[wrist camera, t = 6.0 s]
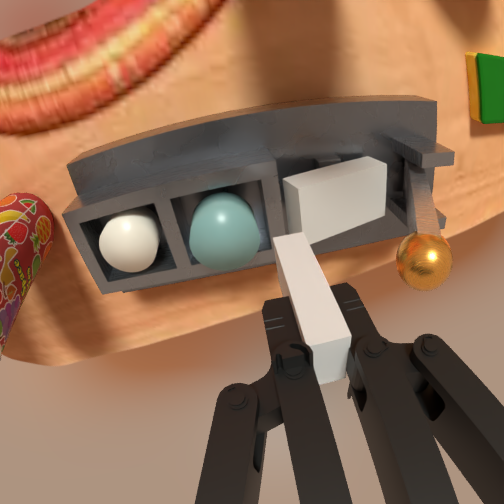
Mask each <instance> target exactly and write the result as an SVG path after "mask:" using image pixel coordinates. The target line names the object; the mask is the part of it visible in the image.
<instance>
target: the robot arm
mask: <svg viewBox="0 0 504 504" xmlns="http://www.w3.org/2000/svg"><path fill="white" fill-rule="evenodd" d="M273 244H274V251H275V258H276V265H277V272H278V279H279V284H280V287H281V291H282V294H283V297H281V298H276V299H271V300H266V301H265V303H264V306H263V309H262V314H263V319H264V324H265V329H266V334H267V339H268V345H269V350H270V355H271V367H270V369H269V371H268V373H267V374H266V375H265V376H264V377H262V378H261V379H259V380H258V381H256V382H254V383H252V384H250V385H247V384H243V383H235V384H231V385H229V386H227V387H225V388H224V389H223V390H222V391H221V392H220V394H219V396H218V398H217V402H216V407H215V412H214V416H213V421H212V426H211V431H210V435H209V440H208V444H207V449H206V454H205V458H204V463H203V467H202V472H201V477H200V481H199V486H198V491H197V496H196V500H195V504H258V500H259V492H260V485H261V477H262V470H263V462H264V454H265V445H266V438H267V431H269V430H271V429H273V428H275V427H276V426H278V425H280V424H282V423H284V425H285V431H286V435H287V441H288V446H289V450H290V455H291V461H292V465H293V470H294V475H295V480H296V485H297V490H298V495H299V500H300V504H352V500H351V497H350V493H349V489H348V485H347V481H346V478H345V474H344V470H343V467H342V463H341V460H340V456H339V452H338V449H337V445H336V442H335V438H334V434H333V431H332V427H331V424H330V421H329V417H328V414H327V410H326V407H325V404H324V400H323V397H322V393H321V390H320V386H319V385H321V384H324V383H328V382H332V381H336V380H340V379H343V378H345V377H346V371H347V374H348V377H349V380H350V384H349V388H348V393H347V396H348V399H350V398H351V396H352V399H353V401H354V404H355V407H356V410H357V413H358V416H359V419H360V422H361V425H362V428H363V431H364V434H365V437H366V440H367V443H368V446H369V450H370V453H371V456H372V459H373V462H374V465H375V469H376V472H377V475H378V478H379V482H380V485H381V488H382V492H383V495H384V499H385V502H386V504H459V503H458V500H457V497H456V494H455V491H454V488H453V486H452V483H451V480H450V477H449V475H448V472H447V469H446V467H445V464H444V461H443V459H442V456H441V454H440V451H439V448H438V446H437V444H436V441H435V439H434V437H435V438H436V439H437V441H438V442H439V443H440V444H441V446H442V447H443V449H444V450H445V451H446V453H447V454H448V455H449V456H450V458H451V459H452V461H453V462H454V463H455V465H456V466H457V467H458V469H459V470H460V471H461V473H462V474H463V476H464V477H465V478H466V480H467V481H468V482H469V484H470V485H471V486H472V488H473V489H474V491H475V492H476V493H477V495H478V496H479V498H480V499H481V500H482V502H483V503H484V504H504V407H503V405H502V404H501V403H500V402H499V401H498V400H497V398H496V397H495V396H494V395H493V394H492V393H491V391H490V390H489V389H488V388H487V387H486V386H485V385H484V384H483V382H482V381H481V380H480V379H479V378H478V377H477V376H476V375H475V374H474V373H473V371H472V370H471V369H470V368H469V367H468V366H467V365H466V364H465V363H464V362H463V361H462V360H461V359H460V358H459V357H458V355H457V354H456V353H455V352H454V351H453V350H452V349H451V348H450V347H449V346H448V345H447V344H446V343H445V342H444V341H443V340H442V339H441V338H439V337H438V336H436V335H433V334H423V335H421V336H419V337H418V338H417V339H416V340H415V342H414V343H402V344H400V343H392V342H389V341H388V340H387V339H385V338H384V337H382V336H380V334H379V333H378V331H377V330H376V327H375V326H374V324H373V322H372V320H371V318H370V316H369V314H368V312H367V310H366V308H365V307H364V304H363V303H362V301H361V300H360V297H359V295H358V293H357V291H356V290H355V289H354V288H353V287H352V286H350V285H349V284H348V283H342V284H337V285H333V286H329V284H328V282H327V280H326V278H325V276H324V274H323V272H322V270H321V268H320V265H319V263H318V261H317V259H316V257H315V255H314V253H313V251H312V249H311V247H310V245H309V243H308V241H307V239H306V237H305V235H304V233H303V232H300V233H294V234H289V235H284V236H279V237H274V238H273ZM433 435H434V436H433Z"/></svg>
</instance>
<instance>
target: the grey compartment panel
mask: <svg viewBox="0 0 504 504" xmlns="http://www.w3.org/2000/svg"><path fill="white" fill-rule="evenodd" d="M436 134H437V101H434V100H430V99H427V98H423V97H419V96H410V95H377V96H350V97H334V98H321V99H311V100H301V101H293V102H285V103H277V104H270V105H263V106H257V107H251V108H245V109H240V110H234V111H229V112H224V113H219V114H214V115H209V116H205V117H200V118H196V119H192V120H188V121H183V122H179V123H175V124H172V125H168V126H164V127H160V128H157V129H153V130H150V131H146V132H143V133H140V134H136V135H133V136H130V137H127V138H124V139H121V140H118V141H115V142H112V143H109V144H106V145H103V146H100V147H97V148H95V149H92V150H89V151H86V152H84V153H81V154H80V155H79V156H77V157H76V158H75V159H74V160H72V161H71V162H70V163H68V164H67V168H68V171H69V174H70V176H71V179H72V182H73V184H74V187H75V190H76V192H77V195H78V196H77V197H76V198H75V199H74V200H73V202H72V203H71V204H70V205H69V206H68V207H67V208H66V210H65V211H64V212H63V213H62V216H63V218H64V220H65V223H66V225H67V227H68V229H69V231H70V233H71V236H72V238H73V240H74V242H75V244H76V246H77V248H78V250H79V252H80V254H81V256H82V258H83V260H84V262H85V264H86V266H87V267H88V269H89V271H90V273H91V275H92V277H93V279H94V280H95V282H96V284H97V286H98V288H99V289H100V291H101V293H102V294H108V293H113V292H119V291H122V292H123V293H125V292H131V291H136V290H141V289H147V288H152V287H157V286H163V285H168V284H173V283H178V282H184V281H189V280H194V279H199V278H204V277H209V276H214V275H219V274H225V273H230V272H235V271H240V270H245V269H250V268H255V267H259V266H264V265H269V264H274V263H276V258H275V251H274V244H273V238H274V237H279V236H284V235H289V230H288V221H287V213H286V204H285V196H284V188H283V180H282V179H283V178H286V177H290V176H293V175H297V174H300V173H304V172H308V171H311V170H315V169H319V168H323V167H326V166H330V165H334V164H338V163H342V162H346V161H350V160H354V159H358V158H362V157H366V156H369V157H371V158H374V159H376V160H379V161H381V162H383V163H386V164H387V180H386V203H385V216H382V217H380V218H377V219H375V220H372V221H370V222H367V223H365V224H362V225H359V226H357V227H354V228H352V229H349V230H347V231H344V232H341V233H339V234H336V235H334V236H331V237H329V238H326V239H323V240H321V241H318V242H316V243H313V244H310V247H311V249H312V251H313V253H314V255H318V254H322V253H327V252H332V251H337V250H341V249H346V248H351V247H355V246H360V245H364V244H369V243H374V242H378V241H383V240H387V239H392V238H396V237H401V236H405V235H408V226H407V211H406V200H405V199H403V184H404V164H405V158H406V159H408V160H409V161H411V162H413V163H414V164H416V165H417V166H419V167H421V168H424V169H425V173H426V176H427V179H428V183H429V187H430V190H431V194H432V190H433V180H434V169H435V167H440V166H450V165H454V153H455V152H454V151H452V150H450V149H448V148H446V147H444V146H442V145H440V144H438V143H436ZM220 192H227V193H233V194H236V195H238V196H240V197H242V198H243V199H245V200H246V201H247V202H248V203H249V204H250V206H251V208H252V210H253V212H254V216H255V220H256V223H257V227H258V231H259V235H260V245H259V248H258V251H257V253H256V254H255V256H254V257H253V258H252V259H251V260H250V261H249V262H248V263H247V264H245V265H244V266H242V267H239V268H237V269H233V270H226V271H221V270H214V269H211V268H208V267H206V266H204V265H203V264H201V263H200V262H199V261H198V260H197V259H196V258H195V257H194V255H193V254H192V251H191V249H190V243H189V240H190V230H191V221H192V215H193V212H194V209H195V208H196V206H197V205H198V203H199V202H200V201H201V200H203V199H204V198H205V197H207V196H209V195H212V194H215V193H220ZM140 206H145V207H147V208H149V209H150V210H151V211H153V212H154V213H155V214H156V216H157V217H158V219H159V221H160V224H161V229H162V231H161V237H160V241H159V245H158V249H157V253H156V257H155V259H154V261H153V263H152V264H151V265H150V266H149V267H148V268H146V269H144V270H142V271H139V272H125V271H121V270H119V269H116V268H115V267H113V266H112V265H110V264H109V263H108V262H107V261H106V260H105V258H104V257H103V255H102V253H101V251H100V247H99V239H100V235H101V233H102V231H103V229H104V228H105V226H106V224H107V222H108V221H109V219H110V217H111V216H112V214H114V213H117V212H121V211H125V210H128V209H132V208H136V207H140ZM435 210H436V214H437V218H438V223H439V227H440V229H444V228H445V222H446V216H444V215H443V214H442V213H441V212H440V211H439V210H437V209H436V208H435Z"/></svg>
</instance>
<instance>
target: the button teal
mask: <svg viewBox="0 0 504 504" xmlns="http://www.w3.org/2000/svg"><path fill="white" fill-rule="evenodd" d="M189 243H190V249H191V251H192V254H193V255H194V257H195V258H196V259H197V260H198V261H199V262H200V263H201V264H203V265H204V266H206V267H208V268H211V269H214V270H221V271H226V270H233V269H237V268H239V267H242V266H244V265H245V264H247V263H248V262H249V261H250V260H251V259H252V258H253V257H254V256H255V254H256V253H257V251H258V248H259V245H260V235H259V231H258V227H257V223H256V220H255V216H254V212H253V210H252V208H251V206H250V204H249V203H248V202H247V201H246V200H245V199H243V198H242V197H240V196H238V195H236V194H233V193H227V192H220V193H215V194H212V195H209V196H207V197H205V198H204V199H203V200H201V201H200V202H199V203H198V205H197V206H196V208H195V209H194V212H193V215H192V221H191V230H190V240H189Z"/></svg>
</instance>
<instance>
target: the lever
mask: <svg viewBox="0 0 504 504" xmlns="http://www.w3.org/2000/svg"><path fill="white" fill-rule="evenodd" d="M403 199H405V200H406V211H407V226H408V236H406V237H405V238H404V239H403V241H402V242H401V244H400V246H399V248H398V251H397V254H396V266H397V271H398V273H399V275H400V277H401V279H402V280H403V281H404V282H405V284H406V285H408V286H409V287H411V288H413V289H415V290H419V291H429V290H433V289H436V288H438V287H439V286H441V285H442V284H443V283H444V282H445V281H446V279H447V278H448V276H449V275H450V272H451V269H452V265H453V256H452V251H451V248H450V245H449V244H448V242H447V241H446V239H445V238H444V237H443V236H442V235H441V232H440V227H439V223H438V218H437V214H436V210H435V206H434V202H433V198H432V194H431V190H430V187H429V183H428V179H427V176H426V173H425V169H424V168H421V167H419V166H417V165H416V164H414V163H413V162H411V161H409V160H408V159H406V158H405V164H404V184H403Z"/></svg>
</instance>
